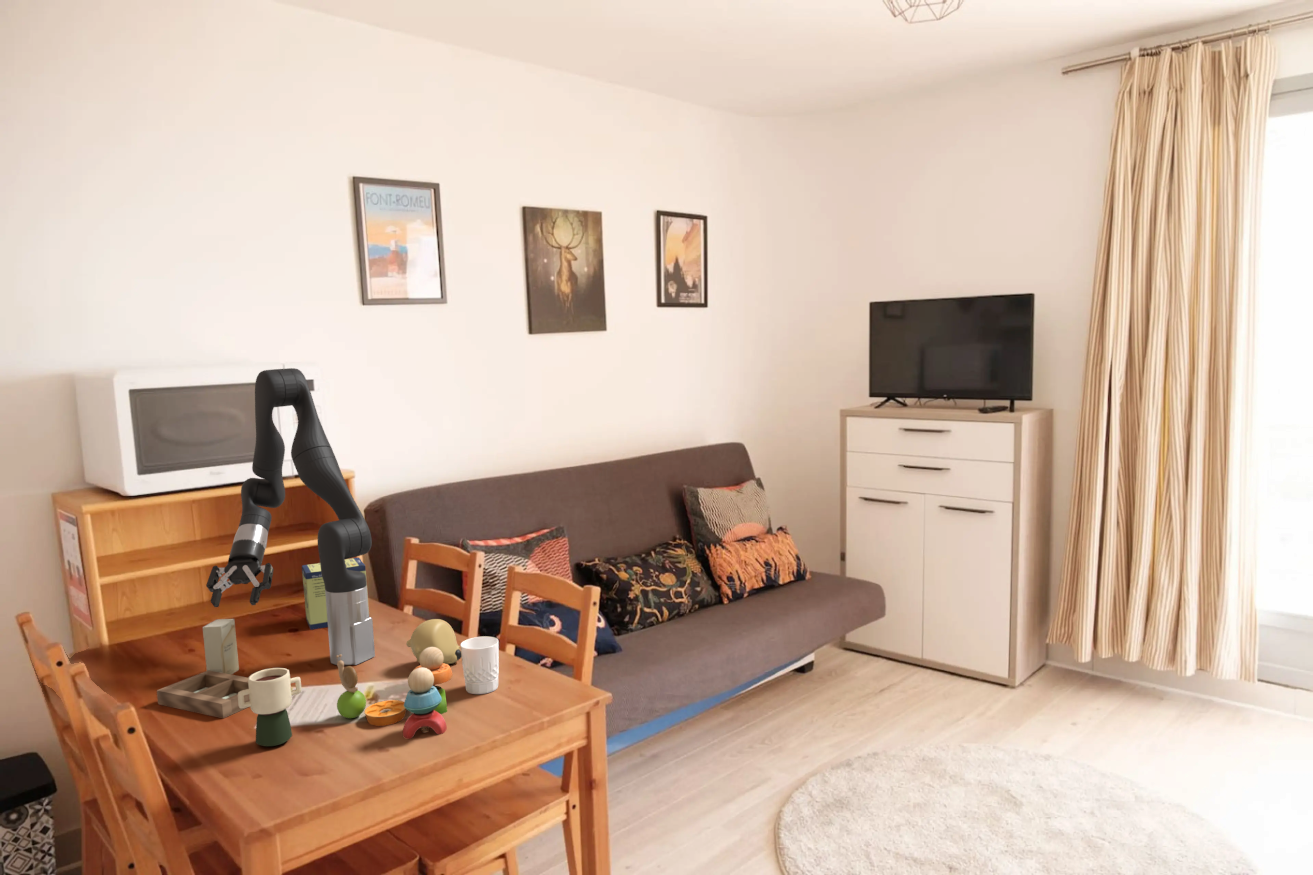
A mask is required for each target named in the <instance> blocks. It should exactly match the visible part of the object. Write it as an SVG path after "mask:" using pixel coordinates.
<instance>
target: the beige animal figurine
mask: <svg viewBox="0 0 1313 875" xmlns="http://www.w3.org/2000/svg"><path fill="white" fill-rule="evenodd" d="M406 646H407V647H408V648H410V649H411V651H412V653H413V655H414V657H415V658H416V661H417V663H419V664H420V662H419V657H420V654H421V653H422V651H423V650H425V649H426V648H428V647H436V648H438V649H440V650H441V652H442V653H443V656H444V660H443V663H445V664H448V665H451V664H455V663H457V662H458V661H459V660H460V659H462V656H461V646H460V645H459V644H458V642H457V637H456V634H455V631H454V628H452V626H451V625H450V624H449V623H448V622H447V621H445V620H443V619H440V618H432V619H427V620H425V621H423V622H422V623H420V624H418V625H417V626H416V628H415V629H414V630H413V632H412V634H411V636H410V639H409V640H408V641H406Z"/></svg>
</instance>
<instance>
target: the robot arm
mask: <svg viewBox="0 0 1313 875" xmlns="http://www.w3.org/2000/svg"><path fill="white" fill-rule="evenodd" d="M256 376H257V377H256V379H255V384H254V417H255V418H254V419H255V420H254V421H255V445H254V451H253V452H254V453H253V459H252V466H251V470H252V473H253V474H254V475H255V476H257V477H249V478H247V479H246V480H245V481H244V482H243V483H242V485H241V489H240V497H241V498H240V499H241V516H240V521H239V524H238V529H237V530H236V532H235V535H234V537H233V542H232V545H231V549H230V553H229V556H228V559H227V560H228V562H227V564H226V566H225V567H218V565H213V566H212V568H211V571H210V574H209V576H208V579H207V583H206V584H205V585H206V588H207V590H208V591H209V592H210V593H212V594H211V598H210V603H211V604H212V606H213V607H214V608H219V607H220V604H221V600H222V595H223V592H224V591H226V590H227V589H229V588H231V587H232V586H233V585H241V584H242V585H248V584H249V583H251V584H252V585H253V587H252V589H251V593H250V598H249V603H250V605H251V606H256V605H257V604H258V603H259V601H260V598H261V593H262V592H263V591H264V590H269V589H271V587H272V584H273V575H274V568H273V566H272V564H271V562H266V564H264V565H263V564H262V563H263V560H264V556H265V551H266V549H267V544H268V535H269V531H270V527H271V523H272V517H273V516H272V514H271V512H270V511H269V510H268V509H269V508H270V509H276V508H278V507H280V506H282V505H283V503H284V501H285V499H286V487H285V483H284V478H283V466H284V459H285V453H286V452H285V451H286V446H285V442H284V438H283V437H282V435H281V433H280V432H279V430H278V429H277V427H276V425H275V423H274V420H273V412H274V408H283V407H289V406H292V407H293V408H294V411H295V414H296V417H297V426H296V427H297V428H296V432H295V435H294V436H293V437H294V438H293V441H292V444H291V450H290V457H291V460H292V463H293V465H294V468H295V470H296V472H297V475H298V477H299V480H300V481H301V482H302V483H303V484H304V485H305V486H306V487H307V488H308V489H310V491H311V492H313V493H314V494H316V495H317V496H318V497H320V498H321V499H322V500H323V501H324V502H326V503H327V504H328V505H329V506H330V508H331V509H332V510H333V511H334V513H335V515H336V517H337V519H338V520H334V521H328V522H325V523H323V524H321V525H320V527H319V529H318V533H317V548H318V556H319V563H320V565H321V573H322V578H323V581H324V584H325V594H326V608H327V622H328V627H327V632H328V633H327V634H328V645H329V660H330V663H331V664H333V665H336V666H337V663H338V661H340V657H338V661H337V658H336V656H337V655H338V656H339V655H340V654H342V656H341V660H342V661H343V662H344V666H351V665H355V666H357V665H359V664H361V663H363V662H366V661H368V660H370V659H372V658H374V657H376V652H375V637H374V622H373V621H374V620H373V617H371V616H370V610H369V611H368V606H369V595H368V596H367V592H368V582H367V581H366V580H367V574H366V575H365V574H364V573H363V572H359V571H353V570H348V569H347V568H346V565H345V559H352V558H358V557H360V556H364V555H367V554H368V553H369V552H370V551H371V548H372V544H373V542H372V541H373V539H372V534H371V530H370V527H369V525H368V523H367V520H366V518H365V517H364V515H363V513H362V512H361V509H360V508H359V506H358V505H357V503H356V500H355V499H354V497H353V495H352V494H351V491H350V489H349V487H348V484H347V482H346V480H345V478H344V474H343V473H342V471H341V468H340V465H339V462H338V459H337V458H336V455H335V453H334V451H333V448H332V446H331V443H330V442H329V439H328V437H327V435H326V433H325V430H324V428H323V425H322V422H321V421H320V418H319V415H318V412H317V408H316V406H315V402H314V399H313V396H312V392H311V388H310V386H309V383H308V380H307V379H306V376H305V374H304V373H303V372H302V371H301V370H300V369H298V368H294V367H293V368H292V367H290V368H278V369H277V368H276V369H265V370H261V371H260V372H259V373H258V375H256ZM258 477H259V478H258ZM266 508H268V509H266ZM261 573H262V574H263V577H262V582H261V581H258V580H257V578H256V577H258V575H259V574H261ZM367 597H368V598H367Z"/></svg>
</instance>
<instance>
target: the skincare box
mask: <svg viewBox="0 0 1313 875" xmlns="http://www.w3.org/2000/svg"><path fill="white" fill-rule="evenodd" d="M236 632H237V631H236V623H235V618H219V619H217V618H216V619H214V620H213V621H211V622H209V623H207V624H206V625H204V626H202V636H203V644H204V656H205V657H204V658H205V666H206V668H205V669H206V671H208V670H209V671H215V672H220V673H225V674H231V675H234V673H236V672H238V671H239V669H240V666H239V655H238V645H237V644H238V643H237V634H236Z"/></svg>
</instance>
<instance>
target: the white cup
mask: <svg viewBox="0 0 1313 875" xmlns="http://www.w3.org/2000/svg"><path fill="white" fill-rule="evenodd" d="M499 644H500V642H499V639H498V638H497V637H494V636H475V637H471V638H467V639H466V640H463V641H462V642H460V645H459V646H460V651H461V656H462V657H461V664H462V671H463V678H464V684H465V691H466V692H467V693H468V694H472V695H485V694H490V693H492V692H495V691H497V689H498V688H499V674H500V673H499V670H500V669H499V667H500V662H499V661H500V658H499V656H500V655H499V654H500V653H499V652H500V651H499V648H500V646H499Z"/></svg>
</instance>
